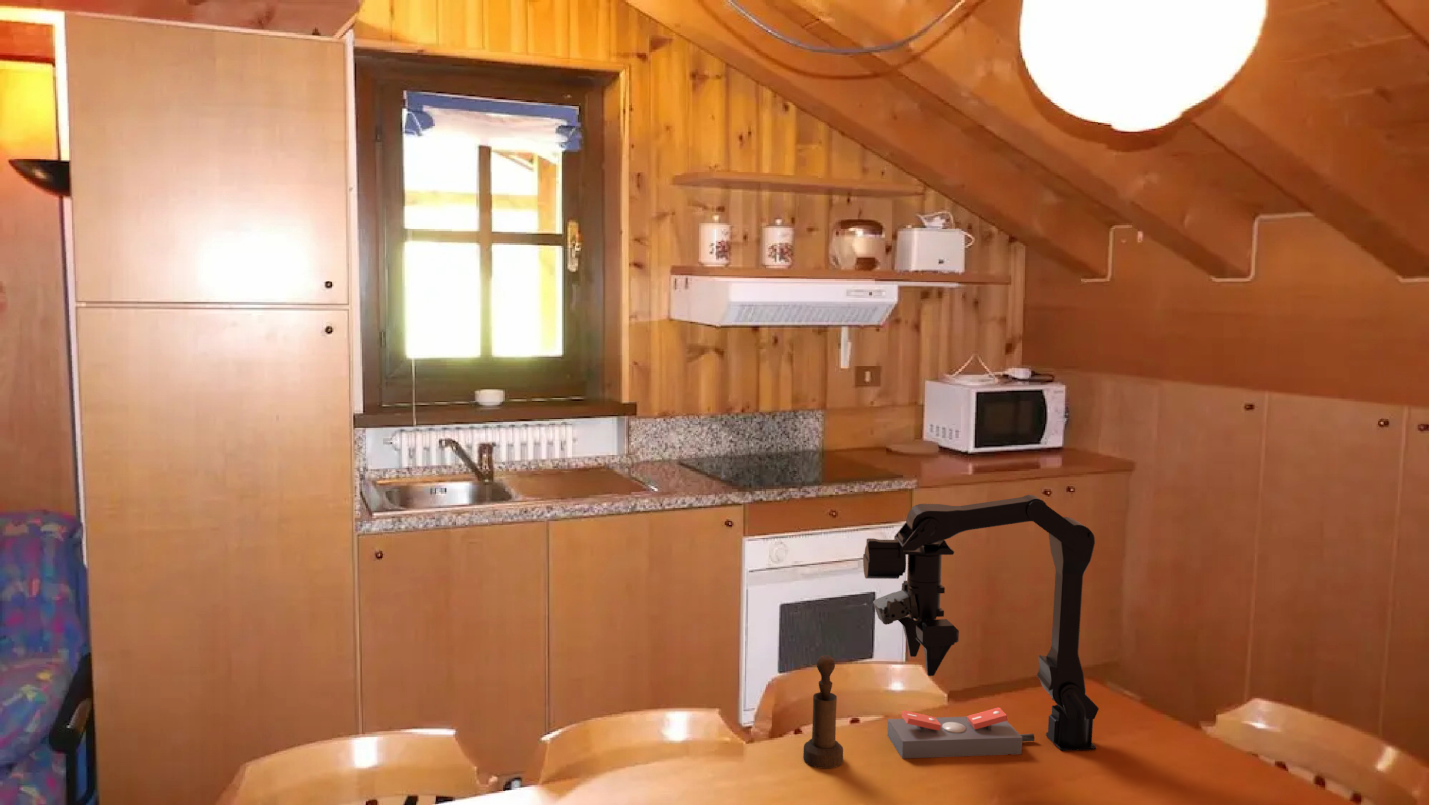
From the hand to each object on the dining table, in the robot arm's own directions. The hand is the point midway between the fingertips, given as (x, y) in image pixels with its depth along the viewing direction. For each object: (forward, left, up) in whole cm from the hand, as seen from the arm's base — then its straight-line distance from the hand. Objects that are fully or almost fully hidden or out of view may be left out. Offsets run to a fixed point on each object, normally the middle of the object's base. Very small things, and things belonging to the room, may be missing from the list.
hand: (921, 665), depth 177 cm
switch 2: (-12, +2, -9) cm, 15 cm away
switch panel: (-8, +2, -14) cm, 16 cm away
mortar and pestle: (+18, +6, -14) cm, 24 cm away
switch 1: (0, +2, -9) cm, 10 cm away
